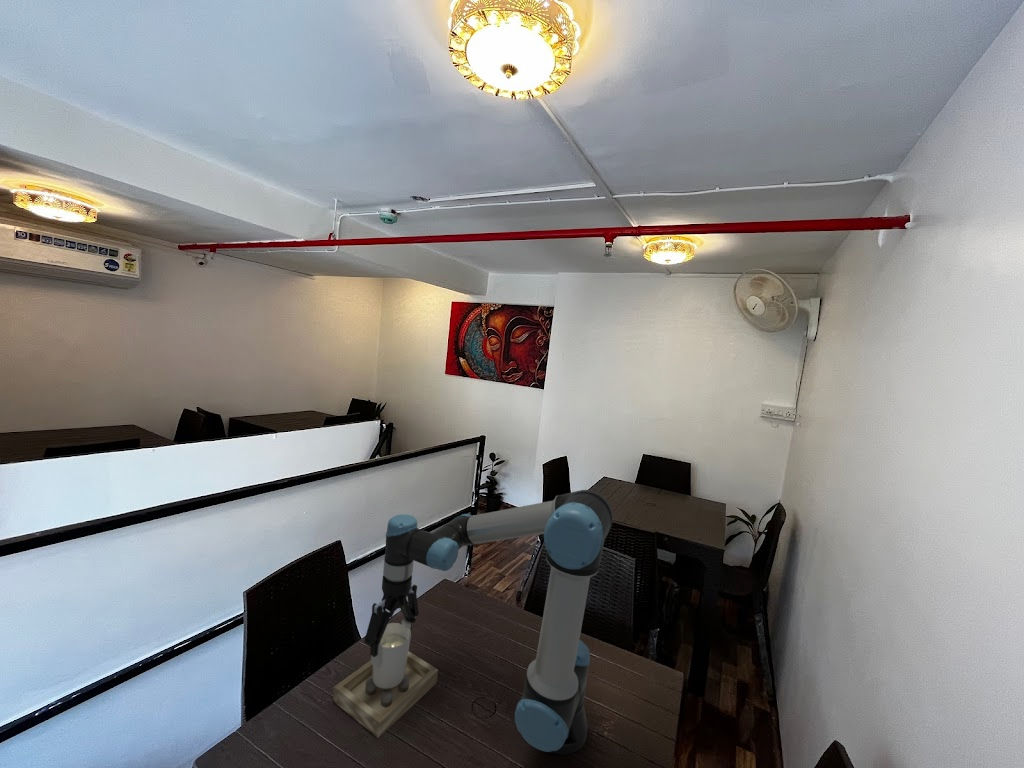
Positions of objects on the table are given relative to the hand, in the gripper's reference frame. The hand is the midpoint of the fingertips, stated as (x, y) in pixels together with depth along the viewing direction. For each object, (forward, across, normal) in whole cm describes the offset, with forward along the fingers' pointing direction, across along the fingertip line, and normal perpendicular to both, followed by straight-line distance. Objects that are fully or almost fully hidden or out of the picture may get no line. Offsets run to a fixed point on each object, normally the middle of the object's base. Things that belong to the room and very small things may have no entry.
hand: (390, 654), depth 113 cm
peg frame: (+11, 0, 0) cm, 11 cm away
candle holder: (+7, 0, 0) cm, 7 cm away
